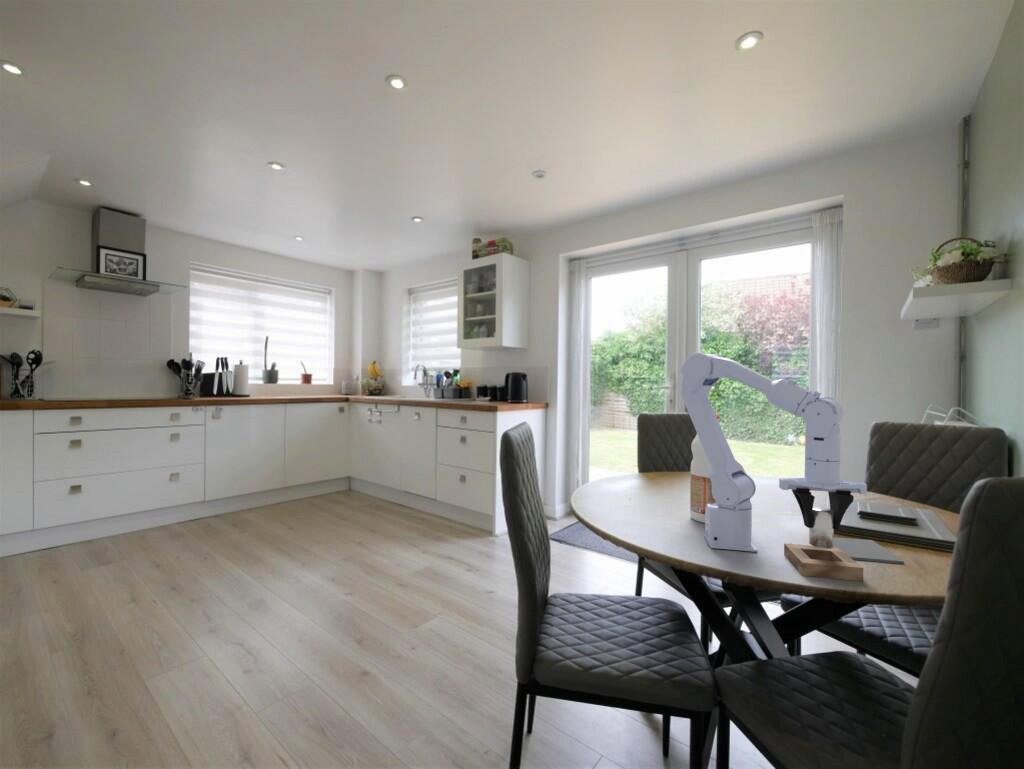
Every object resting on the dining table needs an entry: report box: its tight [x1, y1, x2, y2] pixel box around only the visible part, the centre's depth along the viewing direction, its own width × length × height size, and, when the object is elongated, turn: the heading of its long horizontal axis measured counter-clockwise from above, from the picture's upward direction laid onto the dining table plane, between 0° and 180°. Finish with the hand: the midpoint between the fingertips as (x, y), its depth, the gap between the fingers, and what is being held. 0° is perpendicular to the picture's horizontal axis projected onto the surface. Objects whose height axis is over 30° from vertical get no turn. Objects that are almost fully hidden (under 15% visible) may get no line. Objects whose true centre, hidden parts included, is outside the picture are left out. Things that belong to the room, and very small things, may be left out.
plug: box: [808, 506, 835, 549], centre depth 89 cm, size 4×4×7 cm
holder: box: [783, 543, 864, 582], centre depth 89 cm, size 10×10×2 cm
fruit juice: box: [689, 413, 721, 524], centre depth 119 cm, size 9×9×28 cm
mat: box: [833, 537, 905, 565], centre depth 98 cm, size 12×12×1 cm
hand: (821, 527), depth 89 cm, fingers closed on plug, 4 cm apart
